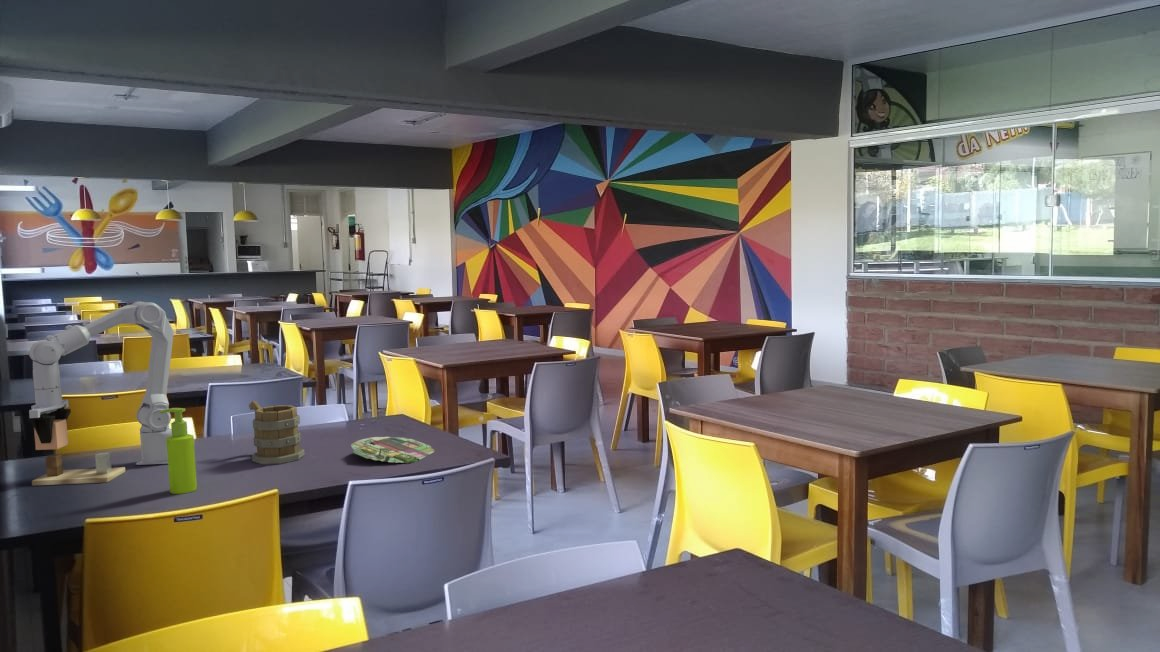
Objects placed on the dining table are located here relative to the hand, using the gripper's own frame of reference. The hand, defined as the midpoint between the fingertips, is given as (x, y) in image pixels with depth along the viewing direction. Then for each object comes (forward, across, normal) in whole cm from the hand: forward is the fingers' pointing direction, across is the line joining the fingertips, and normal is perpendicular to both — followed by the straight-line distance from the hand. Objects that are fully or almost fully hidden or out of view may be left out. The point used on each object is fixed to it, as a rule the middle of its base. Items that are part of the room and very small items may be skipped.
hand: (52, 440), depth 212 cm
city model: (+11, -10, +84) cm, 85 cm away
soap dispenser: (+10, +16, +37) cm, 42 cm away
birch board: (+10, 0, +6) cm, 12 cm away
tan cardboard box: (+2, 0, 0) cm, 2 cm away
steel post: (+9, 0, +12) cm, 15 cm away
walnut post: (+9, 0, 0) cm, 9 cm away
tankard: (+10, -15, +50) cm, 53 cm away
